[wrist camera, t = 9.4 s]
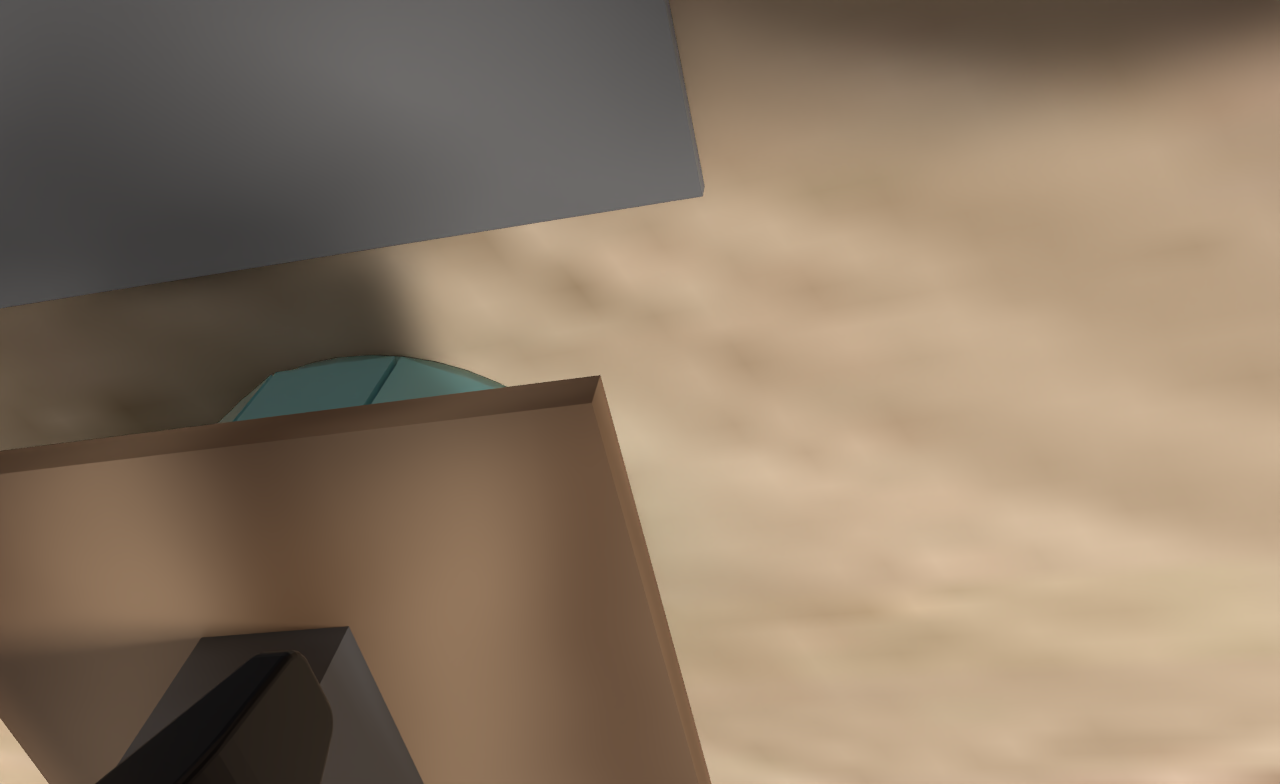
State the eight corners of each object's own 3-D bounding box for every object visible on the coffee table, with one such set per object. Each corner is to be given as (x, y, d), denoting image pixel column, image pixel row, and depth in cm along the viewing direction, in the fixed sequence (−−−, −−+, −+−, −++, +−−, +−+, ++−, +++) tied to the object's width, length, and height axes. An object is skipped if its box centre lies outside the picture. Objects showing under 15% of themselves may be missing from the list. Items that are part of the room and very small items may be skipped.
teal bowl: (582, 324, 22) (531, 466, 17) (685, 698, 27) (664, 876, 23) (120, 387, 24) (-23, 526, 20) (299, 720, 29) (216, 884, 25)
